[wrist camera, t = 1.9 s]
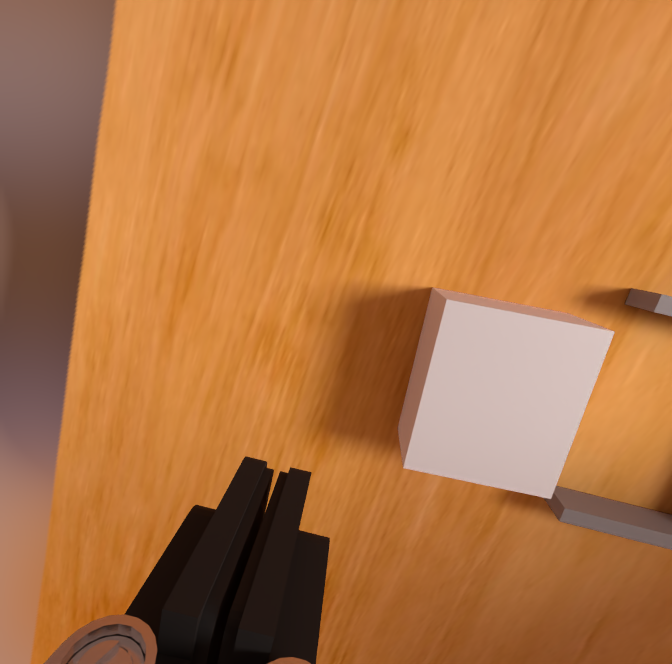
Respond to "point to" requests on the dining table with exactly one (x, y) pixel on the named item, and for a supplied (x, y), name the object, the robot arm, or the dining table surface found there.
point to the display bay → (609, 512)
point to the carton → (498, 391)
